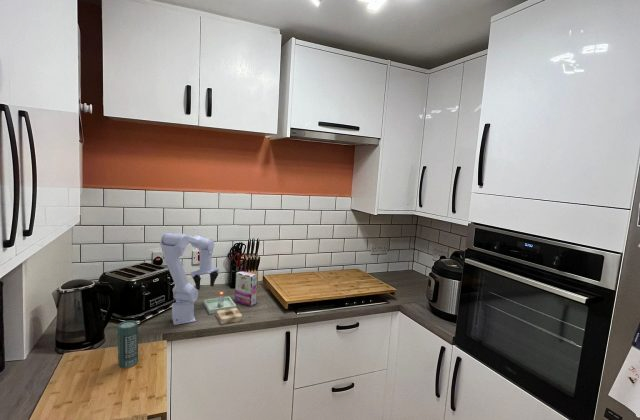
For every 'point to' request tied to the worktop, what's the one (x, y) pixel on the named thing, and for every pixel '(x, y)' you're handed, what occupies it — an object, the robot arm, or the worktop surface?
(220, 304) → the metal pin
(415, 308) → the worktop surface
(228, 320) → the pin holder block
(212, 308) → the tray
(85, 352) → the worktop surface
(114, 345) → the worktop surface
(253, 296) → the candy bar box
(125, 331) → the can
